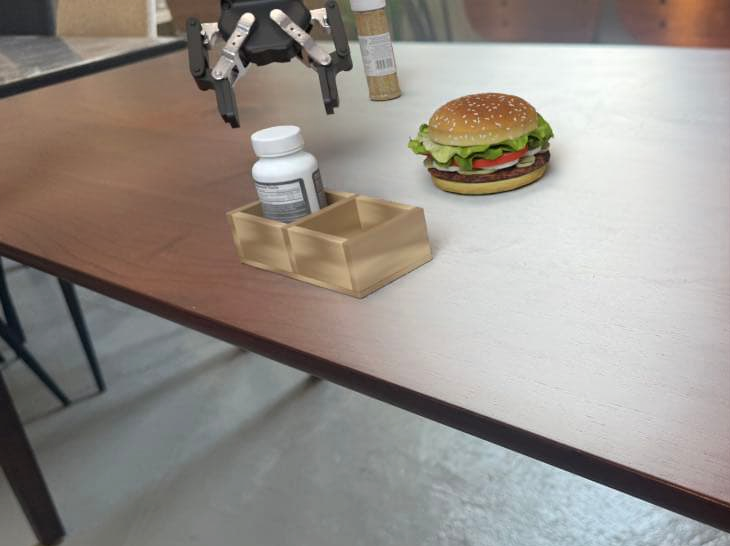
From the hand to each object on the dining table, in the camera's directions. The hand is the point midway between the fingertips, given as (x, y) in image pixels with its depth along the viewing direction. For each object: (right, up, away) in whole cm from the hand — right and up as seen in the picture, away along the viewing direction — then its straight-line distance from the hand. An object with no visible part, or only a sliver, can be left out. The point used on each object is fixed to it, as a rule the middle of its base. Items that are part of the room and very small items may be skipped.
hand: (282, 116), depth 78 cm
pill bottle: (+3, -12, -3) cm, 13 cm away
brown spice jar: (+2, +17, +43) cm, 46 cm away
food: (+18, -3, +10) cm, 21 cm away
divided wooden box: (+6, -14, -5) cm, 16 cm away
